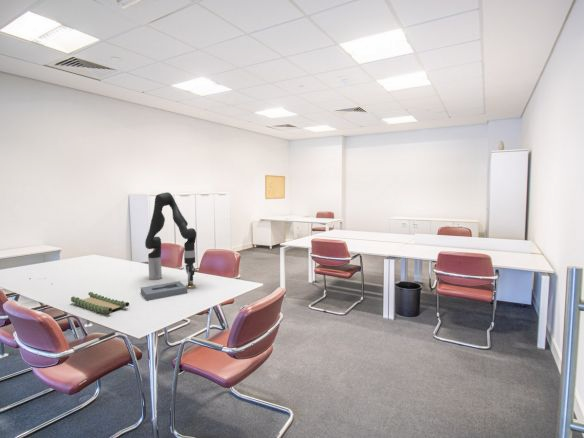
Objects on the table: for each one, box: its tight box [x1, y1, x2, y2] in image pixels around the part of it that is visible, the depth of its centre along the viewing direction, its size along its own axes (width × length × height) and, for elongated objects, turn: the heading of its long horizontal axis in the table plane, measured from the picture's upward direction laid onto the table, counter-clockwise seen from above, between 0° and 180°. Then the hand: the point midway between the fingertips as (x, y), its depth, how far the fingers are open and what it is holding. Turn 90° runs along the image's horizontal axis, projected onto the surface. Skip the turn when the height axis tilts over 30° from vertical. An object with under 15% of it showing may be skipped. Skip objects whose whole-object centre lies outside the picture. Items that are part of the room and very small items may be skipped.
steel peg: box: [185, 272, 196, 290], centre depth 235 cm, size 6×6×12 cm
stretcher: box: [70, 291, 130, 315], centre depth 198 cm, size 41×14×5 cm, turn 60°
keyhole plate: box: [140, 280, 188, 301], centre depth 223 cm, size 18×26×4 cm
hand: (190, 279), depth 235 cm, fingers closed on steel peg, 3 cm apart
